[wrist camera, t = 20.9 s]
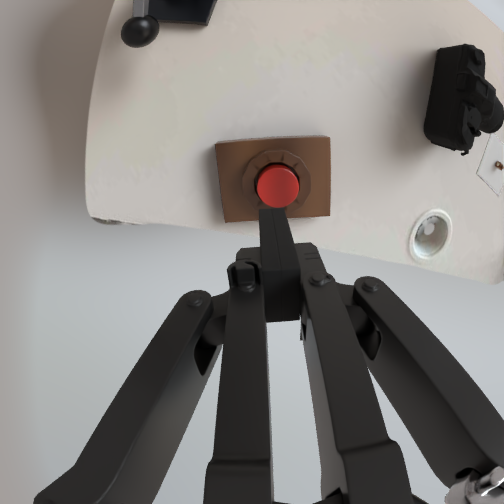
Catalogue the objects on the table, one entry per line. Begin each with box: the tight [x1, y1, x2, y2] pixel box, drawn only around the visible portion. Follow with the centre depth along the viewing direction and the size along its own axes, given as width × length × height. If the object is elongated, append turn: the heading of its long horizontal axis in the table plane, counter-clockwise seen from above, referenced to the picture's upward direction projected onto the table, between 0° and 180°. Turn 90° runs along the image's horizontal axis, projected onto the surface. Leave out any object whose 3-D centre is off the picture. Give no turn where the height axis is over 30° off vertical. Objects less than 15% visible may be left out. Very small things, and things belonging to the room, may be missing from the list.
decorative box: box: [477, 133, 504, 196], centre depth 26 cm, size 8×8×2 cm
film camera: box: [424, 44, 504, 156], centre depth 19 cm, size 15×10×9 cm, turn 168°
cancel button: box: [257, 165, 299, 208], centre depth 26 cm, size 4×4×2 cm
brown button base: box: [215, 136, 331, 223], centre depth 28 cm, size 12×9×4 cm
